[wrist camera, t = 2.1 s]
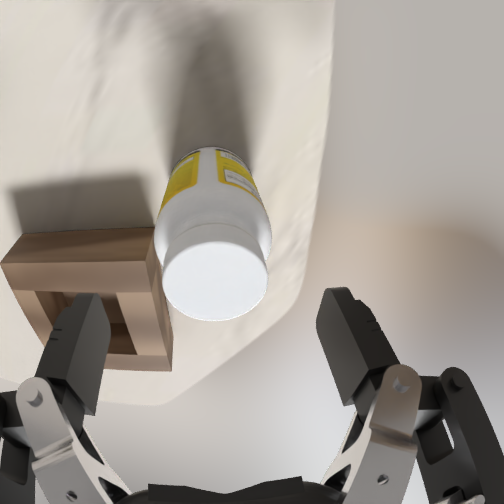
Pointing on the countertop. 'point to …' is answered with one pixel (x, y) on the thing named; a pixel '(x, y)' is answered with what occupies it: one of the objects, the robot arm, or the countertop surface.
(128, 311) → the socket block
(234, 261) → the supplement bottle
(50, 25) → the countertop surface
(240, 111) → the countertop surface
